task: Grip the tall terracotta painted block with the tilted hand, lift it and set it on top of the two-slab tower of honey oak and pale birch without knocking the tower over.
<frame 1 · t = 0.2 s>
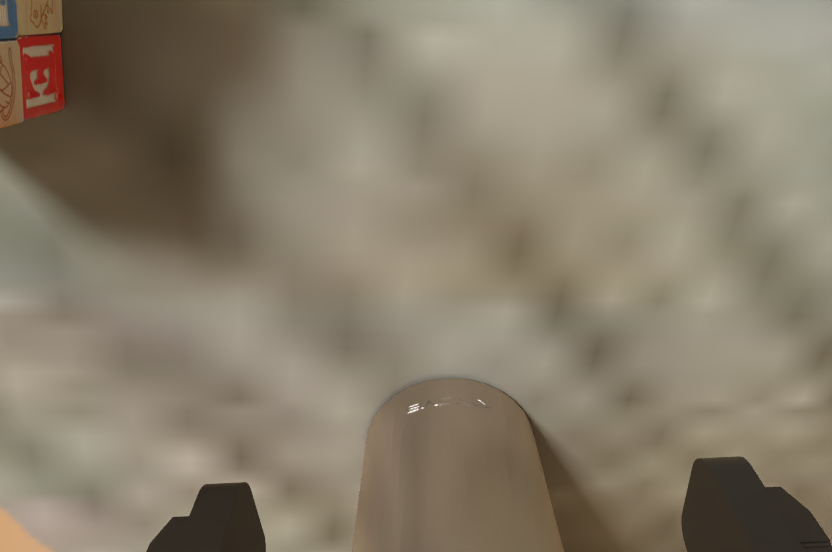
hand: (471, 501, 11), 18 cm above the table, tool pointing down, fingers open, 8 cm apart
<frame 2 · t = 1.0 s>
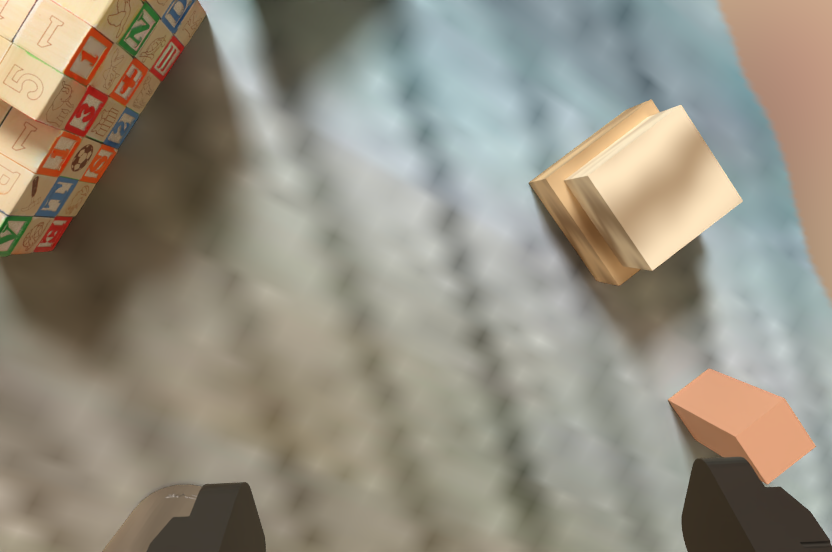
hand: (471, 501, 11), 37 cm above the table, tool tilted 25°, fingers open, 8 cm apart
stack of blocks: (94, 110, 44), on the table
terracotta block: (701, 404, 52), on the table
oak base slab: (609, 196, 49), on the table, touching birch top slab
birch top slab: (635, 192, 45), point 4 cm above the table, touching oak base slab
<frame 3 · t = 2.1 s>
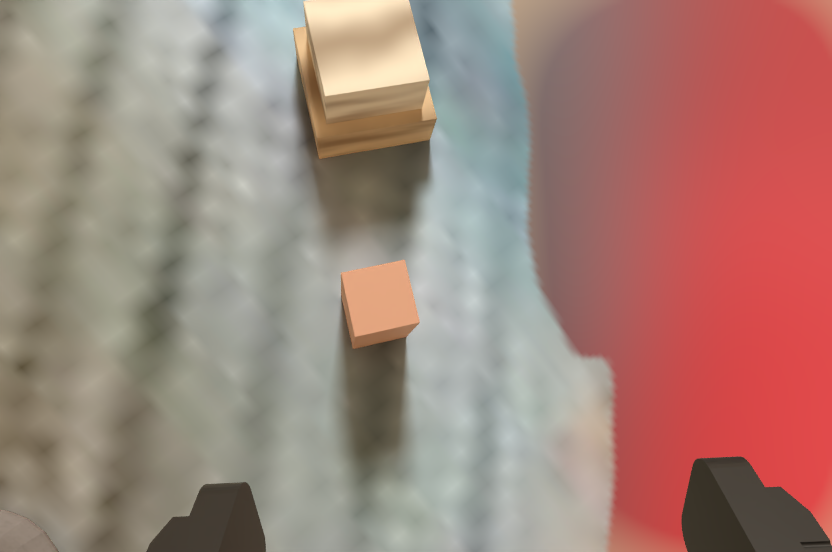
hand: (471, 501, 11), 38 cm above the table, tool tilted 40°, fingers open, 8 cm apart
coffee pot: (23, 515, 44), on the table
terracotta block: (373, 316, 50), on the table
oak base slab: (362, 100, 54), on the table, touching birch top slab
birch top slab: (364, 72, 50), point 4 cm above the table, touching oak base slab
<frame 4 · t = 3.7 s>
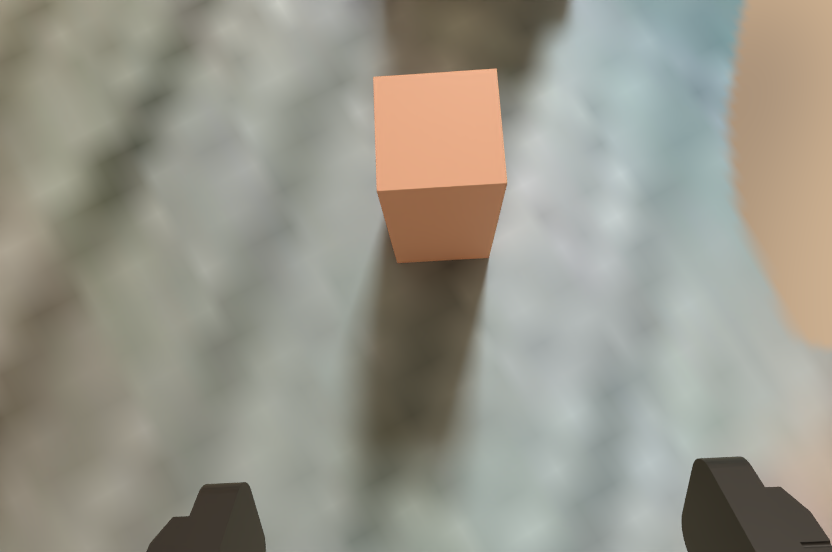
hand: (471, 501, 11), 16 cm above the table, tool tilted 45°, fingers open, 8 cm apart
terracotta block: (440, 217, 30), on the table
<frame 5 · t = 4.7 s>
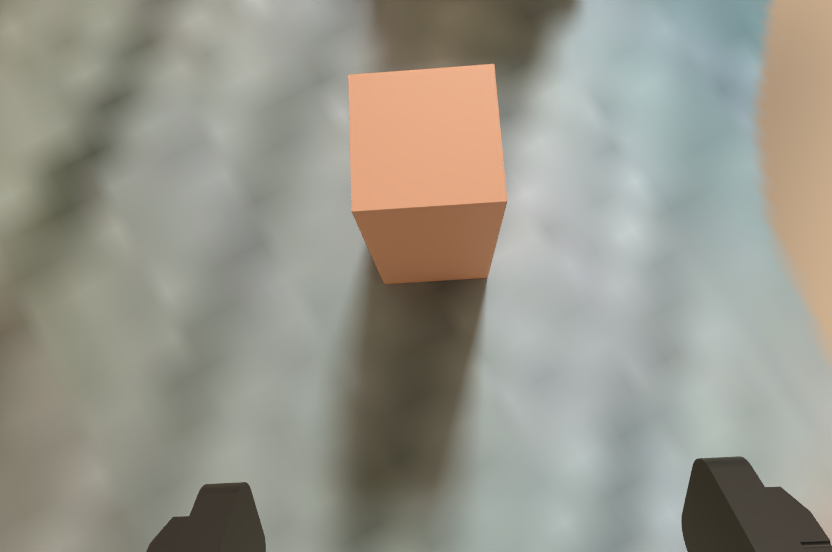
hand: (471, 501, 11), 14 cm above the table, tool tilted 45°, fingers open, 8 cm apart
terracotta block: (432, 231, 27), on the table
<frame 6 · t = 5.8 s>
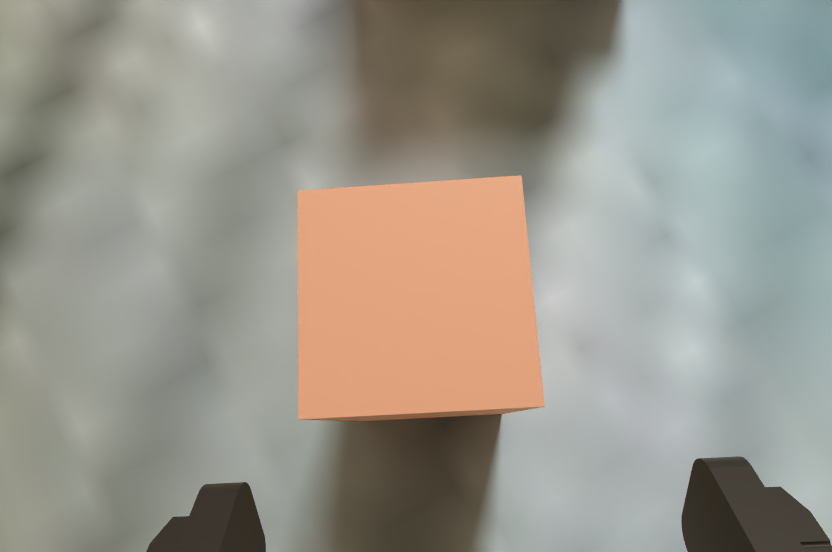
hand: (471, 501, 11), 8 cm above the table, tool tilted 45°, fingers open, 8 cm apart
terracotta block: (429, 349, 20), on the table
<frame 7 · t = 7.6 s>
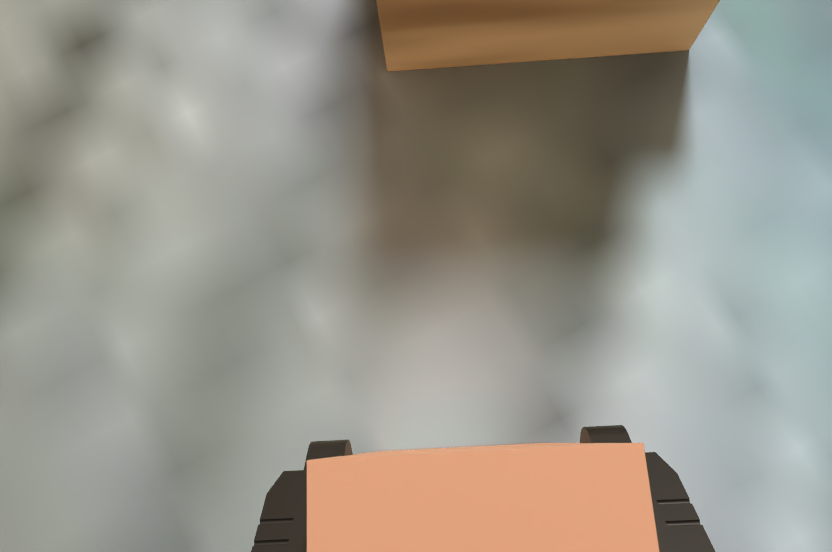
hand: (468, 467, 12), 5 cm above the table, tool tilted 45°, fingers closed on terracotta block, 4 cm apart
terracotta block: (465, 534, 16), on the table, touching gripper
when the fingers open (16 cm above the table, at t = 13.5 s): terracotta block drops 2 cm, resting on birch top slab.
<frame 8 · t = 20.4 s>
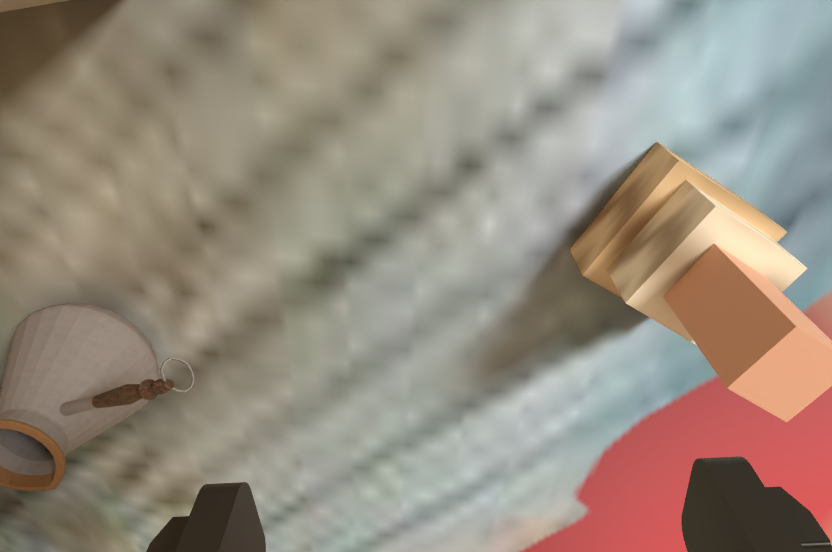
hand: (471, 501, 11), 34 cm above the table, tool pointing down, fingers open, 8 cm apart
coffee pot: (145, 318, 50), on the table
terracotta block: (713, 286, 38), point 9 cm above the table, touching birch top slab
oak base slab: (659, 227, 46), on the table, touching birch top slab
birch top slab: (687, 253, 42), point 4 cm above the table, touching oak base slab, terracotta block
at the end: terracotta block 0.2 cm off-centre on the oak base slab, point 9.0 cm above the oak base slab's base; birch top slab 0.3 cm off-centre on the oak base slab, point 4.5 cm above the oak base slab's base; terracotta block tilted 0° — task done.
